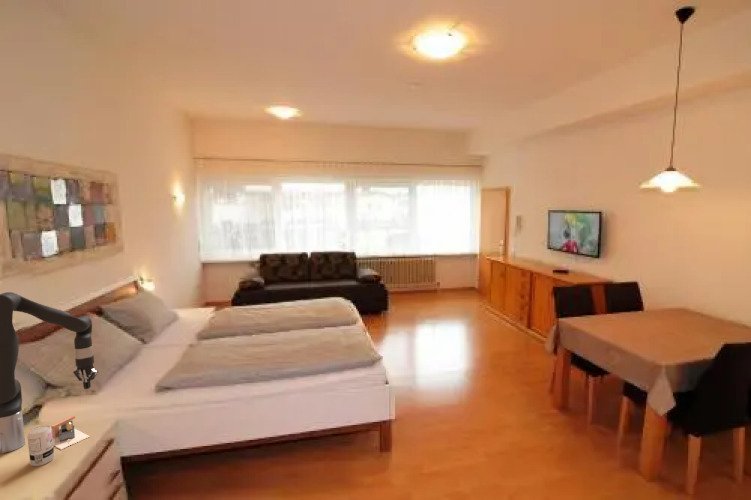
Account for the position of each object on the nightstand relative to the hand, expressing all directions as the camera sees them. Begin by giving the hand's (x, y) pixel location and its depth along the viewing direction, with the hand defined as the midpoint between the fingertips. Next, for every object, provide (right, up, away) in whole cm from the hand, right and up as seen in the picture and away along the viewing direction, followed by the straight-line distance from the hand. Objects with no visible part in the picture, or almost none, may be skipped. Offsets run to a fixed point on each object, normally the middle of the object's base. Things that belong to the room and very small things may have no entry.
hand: (87, 388), depth 195 cm
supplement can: (-4, -25, -22) cm, 34 cm away
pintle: (-6, -24, -3) cm, 25 cm away
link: (-9, -23, -1) cm, 25 cm away
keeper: (-12, -23, +1) cm, 26 cm away
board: (-7, -24, -4) cm, 25 cm away
